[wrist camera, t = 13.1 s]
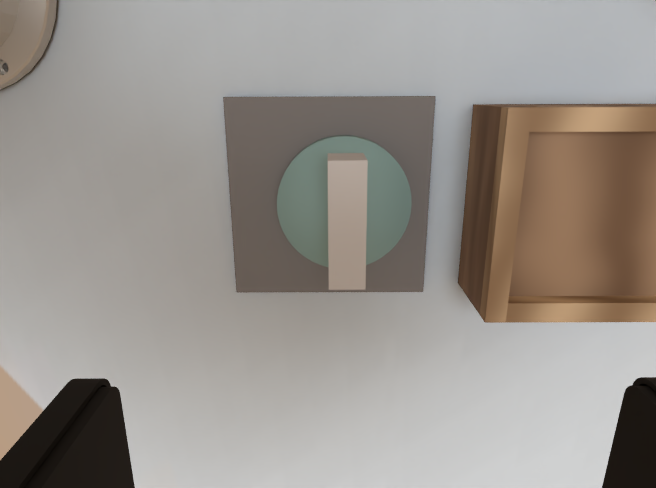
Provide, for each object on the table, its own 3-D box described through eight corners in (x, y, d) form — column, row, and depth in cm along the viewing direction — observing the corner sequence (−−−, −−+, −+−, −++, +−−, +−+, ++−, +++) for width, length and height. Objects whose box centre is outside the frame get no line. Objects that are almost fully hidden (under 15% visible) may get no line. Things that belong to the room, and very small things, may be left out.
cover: (276, 135, 30) (262, 147, 23) (410, 134, 30) (432, 145, 23) (281, 261, 32) (270, 302, 26) (404, 260, 32) (423, 300, 26)
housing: (457, 282, 33) (485, 322, 27) (473, 104, 29) (508, 107, 24) (657, 282, 33) (726, 321, 27) (697, 103, 29) (786, 106, 24)
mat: (237, 290, 33) (236, 292, 33) (224, 97, 29) (223, 97, 29) (421, 289, 33) (423, 291, 33) (433, 96, 29) (435, 96, 29)
